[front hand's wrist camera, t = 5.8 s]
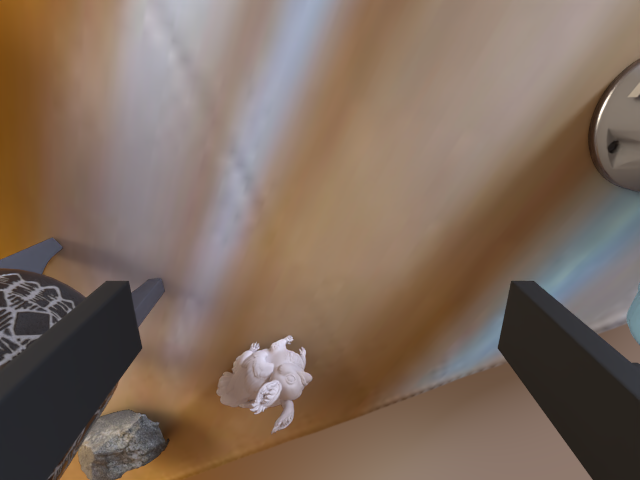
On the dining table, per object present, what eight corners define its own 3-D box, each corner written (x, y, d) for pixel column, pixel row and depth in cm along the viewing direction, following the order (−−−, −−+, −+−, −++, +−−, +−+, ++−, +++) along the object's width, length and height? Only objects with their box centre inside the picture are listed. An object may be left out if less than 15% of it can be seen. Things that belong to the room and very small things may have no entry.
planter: (-10, 275, 48) (-362, 461, 23) (93, 188, 44) (-200, 299, 19) (104, 374, 53) (-82, 609, 29) (205, 305, 49) (89, 508, 25)
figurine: (326, 352, 52) (328, 426, 40) (245, 402, 55) (224, 484, 43) (291, 312, 50) (282, 378, 38) (208, 366, 53) (176, 442, 41)
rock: (155, 398, 55) (135, 435, 49) (184, 437, 58) (168, 478, 52) (79, 422, 57) (50, 462, 50) (111, 460, 59) (87, 501, 53)
